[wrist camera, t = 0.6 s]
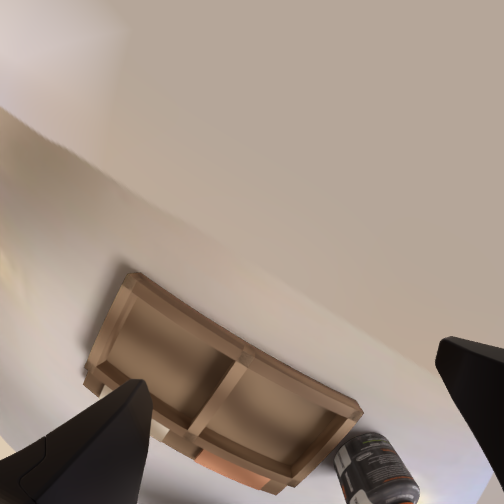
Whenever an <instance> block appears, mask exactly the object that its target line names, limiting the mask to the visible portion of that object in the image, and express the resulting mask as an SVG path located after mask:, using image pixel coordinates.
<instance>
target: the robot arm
mask: <svg viewBox="0 0 504 504" xmlns="http://www.w3.org/2000/svg"><path fill="white" fill-rule="evenodd" d="M435 365H436V368H437V370H438V372H439V374H440V376H441V378H442V380H443V382H444V384H445V386H446V388H447V390H448V392H449V394H450V396H451V398H452V399H453V401H454V403H455V405H456V406H457V408H458V409H459V411H460V413H461V414H462V416H463V418H464V419H465V421H466V423H467V424H468V426H469V428H470V429H471V431H472V433H473V434H474V436H475V438H476V440H477V441H478V443H479V445H480V447H481V448H482V450H483V452H484V454H485V456H486V458H487V459H488V461H489V463H490V465H491V467H492V469H493V471H494V473H495V475H496V477H497V479H498V481H499V483H500V485H501V487H502V489H503V491H504V349H502V348H499V347H494V346H490V345H486V344H482V343H478V342H474V341H469V340H465V339H461V338H457V337H453V336H450V337H447V338H444V339H442V340H441V341H440V343H439V347H438V351H437V355H436V359H435ZM152 412H153V402H152V398H151V395H150V392H149V389H148V386H147V384H146V382H145V380H143V379H130V380H128V381H127V382H125V383H124V384H122V385H121V386H119V387H118V388H116V389H115V390H113V391H112V392H111V393H109V394H108V395H106V396H105V397H103V398H102V399H100V400H99V401H97V402H96V403H94V404H93V405H91V406H90V407H88V408H87V409H85V410H84V411H82V412H81V413H79V414H78V415H76V416H75V417H73V418H72V419H70V420H69V421H67V422H66V423H64V424H62V425H61V426H59V427H58V428H56V429H55V430H53V431H52V432H50V433H48V434H47V435H46V437H45V436H44V437H42V438H41V439H39V440H37V441H36V442H34V443H32V444H31V445H29V446H27V447H26V448H24V449H22V450H20V451H18V452H16V453H14V454H12V455H11V456H8V457H6V458H4V459H2V460H0V504H137V499H138V494H139V490H140V485H141V480H142V476H143V471H144V467H145V462H146V458H147V453H148V447H149V438H150V429H151V420H152Z"/></svg>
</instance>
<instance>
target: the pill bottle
mask: <svg viewBox="0 0 504 504" xmlns="http://www.w3.org/2000/svg"><path fill="white" fill-rule="evenodd" d="M334 467H335V470H336V473H337V476H338V479H339V482H340V485H341V488H342V491H343V494H344V497H345V500H346V504H417V502H418V500H419V496H420V489H419V486H418V485H417V483H416V482H415V480H414V479H413V477H412V476H411V474H410V472H409V471H408V469H407V468H406V466H405V465H404V463H403V462H402V460H401V459H400V457H399V456H398V454H397V453H396V451H395V450H394V448H393V447H392V445H391V444H390V442H389V441H388V440H387V439H386V438H385V437H384V436H382V435H380V434H364V435H361V436H358V437H356V438H354V439H352V440H350V441H348V442H347V443H346V444H344V445H343V446H342V447H341V448H340V450H339V451H338V452H337V454H336V456H335V459H334Z"/></svg>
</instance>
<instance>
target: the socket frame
mask: <svg viewBox="0 0 504 504" xmlns="http://www.w3.org/2000/svg"><path fill="white" fill-rule="evenodd" d="M84 368H85V369H87V370H88V373H87V375H86V378H85V380H84V383H83V385H84V386H85V387H86V388H88V389H89V390H90V391H91V392H92V393H94V394H95V395H96V396H97V397H99V399H102V398H103V397H105V396H106V395H108V394H109V393H111V392H112V391H113V390H115V389H116V388H118V387H119V386H121V385H122V384H124V383H125V382H127V381H128V380H130V379H143V380H145V382H146V384H147V386H148V389H149V392H150V395H151V398H152V402H153V412H152V420H151V429H150V436H151V437H153V438H155V439H156V440H158V441H159V442H163V443H165V444H166V445H168V446H170V447H171V448H173V449H175V450H177V451H178V452H180V453H182V454H184V455H185V456H187V457H189V458H191V459H193V460H194V461H195V462H197V463H199V464H200V465H202V466H204V467H206V468H209V469H211V470H213V471H215V472H217V473H219V474H221V475H223V476H226V477H228V478H230V479H232V480H235V481H237V482H239V483H242V484H244V485H247V486H249V487H252V488H254V489H257V490H262V491H265V492H268V493H271V494H274V495H277V494H278V493H279V492H281V491H282V490H283V489H284V488H285V487H286V486H287V485H288V486H291V487H294V488H295V487H296V486H297V485H298V484H299V483H300V482H301V481H302V480H303V479H305V478H306V477H307V476H308V475H309V474H310V473H311V472H312V471H313V470H314V469H315V468H316V467H317V466H318V465H319V464H320V463H321V462H322V461H323V460H324V459H325V458H326V457H327V456H328V454H329V453H330V452H331V451H332V450H333V449H334V448H335V447H336V446H337V445H338V444H339V443H340V441H341V440H342V439H343V438H344V437H345V436H346V435H347V433H348V432H349V431H350V430H351V429H352V428H353V426H354V425H355V424H356V423H357V421H358V420H359V419H360V418H361V417H362V415H363V414H364V412H363V411H362V409H361V408H360V406H359V404H358V403H357V401H356V400H354V399H352V398H349V397H347V396H345V395H343V394H341V393H339V392H337V391H335V390H333V389H331V388H329V387H327V386H325V385H323V384H321V383H319V382H317V381H316V380H314V379H312V378H310V377H308V376H306V375H304V374H302V373H300V372H298V371H297V370H295V369H293V368H291V367H289V366H287V365H286V364H284V363H282V362H280V361H278V360H277V359H275V358H273V357H271V356H270V355H268V354H266V353H264V352H263V351H261V350H259V349H257V348H256V347H254V346H252V345H251V344H249V343H247V342H246V341H244V340H242V339H241V338H239V337H237V336H236V335H234V334H232V333H231V332H229V331H227V330H226V329H224V328H223V327H221V326H219V325H218V324H216V323H215V322H213V321H211V320H210V319H208V318H207V317H205V316H204V315H202V314H200V313H199V312H197V311H196V310H194V309H193V308H191V307H190V306H188V305H187V304H185V303H184V302H182V301H181V300H179V299H178V298H176V297H175V296H173V295H172V294H170V293H169V292H167V291H166V290H164V289H163V288H162V287H160V286H159V285H157V284H156V283H154V282H153V281H152V280H150V279H149V278H147V277H146V276H145V275H143V274H142V273H129V274H127V275H126V277H125V279H124V281H123V283H122V285H121V287H120V289H119V291H118V293H117V295H116V297H115V299H114V301H113V303H112V306H111V308H110V310H109V312H108V314H107V316H106V318H105V320H104V323H103V325H102V327H101V329H100V331H99V334H98V336H97V338H96V340H95V343H94V345H93V347H92V350H91V352H90V355H89V357H88V359H87V362H86V364H85V367H84Z"/></svg>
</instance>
